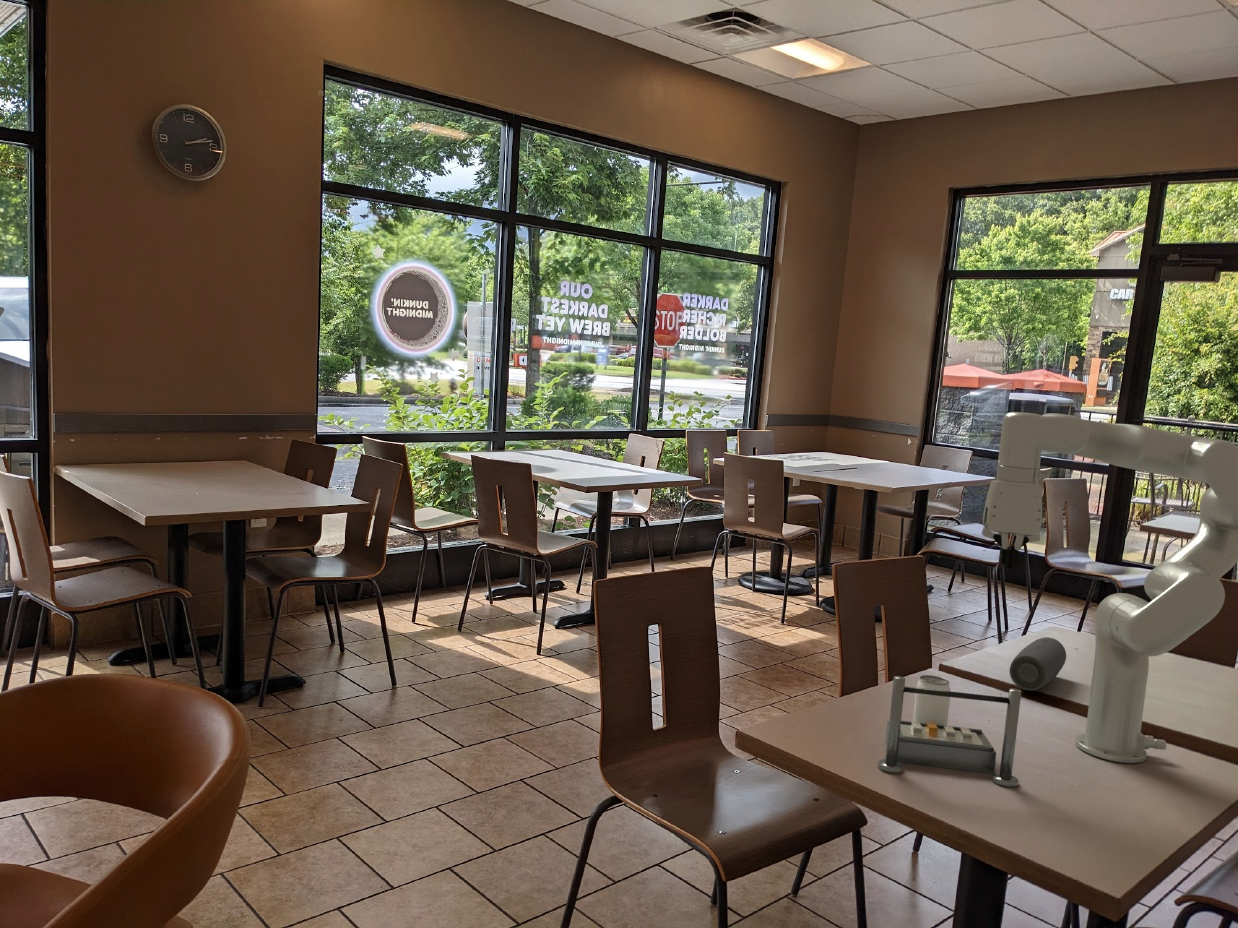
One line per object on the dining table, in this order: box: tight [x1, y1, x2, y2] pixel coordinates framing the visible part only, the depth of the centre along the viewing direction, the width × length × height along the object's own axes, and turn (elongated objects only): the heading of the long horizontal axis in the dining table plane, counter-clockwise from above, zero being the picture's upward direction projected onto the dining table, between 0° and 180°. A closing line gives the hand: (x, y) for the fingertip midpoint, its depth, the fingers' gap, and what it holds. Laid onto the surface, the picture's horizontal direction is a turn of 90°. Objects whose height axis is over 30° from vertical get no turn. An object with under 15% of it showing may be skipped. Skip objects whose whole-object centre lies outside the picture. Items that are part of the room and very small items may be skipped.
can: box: [912, 674, 952, 726], centre depth 189 cm, size 6×6×12 cm
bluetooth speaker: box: [1009, 636, 1067, 692], centre depth 230 cm, size 23×9×10 cm, turn 144°
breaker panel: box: [884, 720, 997, 774], centre depth 180 cm, size 18×10×6 cm, turn 82°
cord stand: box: [877, 675, 1022, 789], centre depth 171 cm, size 24×4×17 cm, turn 82°
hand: (1007, 568), depth 187 cm, fingers closed
